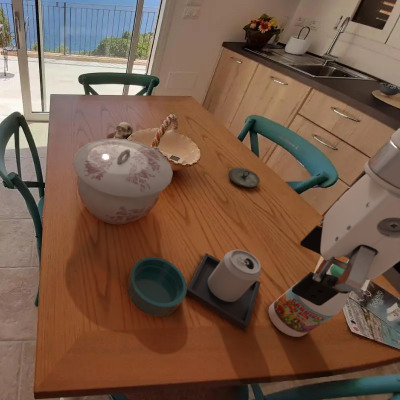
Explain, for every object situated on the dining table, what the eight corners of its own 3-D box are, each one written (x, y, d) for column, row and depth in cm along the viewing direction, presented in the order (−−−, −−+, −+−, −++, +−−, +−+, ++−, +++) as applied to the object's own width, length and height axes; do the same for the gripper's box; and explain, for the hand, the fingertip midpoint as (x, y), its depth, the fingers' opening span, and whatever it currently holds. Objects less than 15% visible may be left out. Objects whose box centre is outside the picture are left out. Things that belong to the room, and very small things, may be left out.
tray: (256, 286, 67) (260, 282, 65) (243, 330, 59) (247, 326, 57) (202, 257, 72) (205, 252, 71) (184, 293, 64) (187, 289, 63)
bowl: (187, 287, 65) (194, 276, 62) (166, 329, 58) (173, 319, 54) (142, 259, 71) (146, 248, 67) (117, 294, 63) (120, 283, 60)
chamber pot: (70, 240, 74) (74, 181, 60) (70, 178, 94) (72, 124, 80) (169, 241, 76) (195, 185, 62) (148, 180, 96) (164, 127, 82)
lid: (250, 178, 103) (254, 165, 101) (263, 189, 94) (269, 176, 92) (222, 176, 104) (226, 164, 101) (233, 187, 95) (237, 174, 93)
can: (240, 308, 62) (267, 281, 53) (206, 297, 63) (228, 269, 55) (237, 280, 67) (262, 252, 59) (206, 271, 68) (226, 242, 60)
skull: (127, 149, 109) (115, 126, 106) (110, 155, 117) (99, 134, 115) (142, 138, 115) (132, 116, 113) (125, 145, 124) (115, 124, 121)
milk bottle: (268, 297, 65) (323, 247, 51) (304, 314, 62) (373, 266, 48) (266, 325, 60) (327, 277, 46) (305, 345, 57) (383, 300, 43)
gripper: (518, 249, 18) (339, 342, 30) (457, 149, 29) (342, 246, 40) (380, 200, 21) (267, 301, 33) (370, 126, 32) (286, 222, 44)
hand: (308, 271), depth 37 cm, fingers open, 9 cm apart
